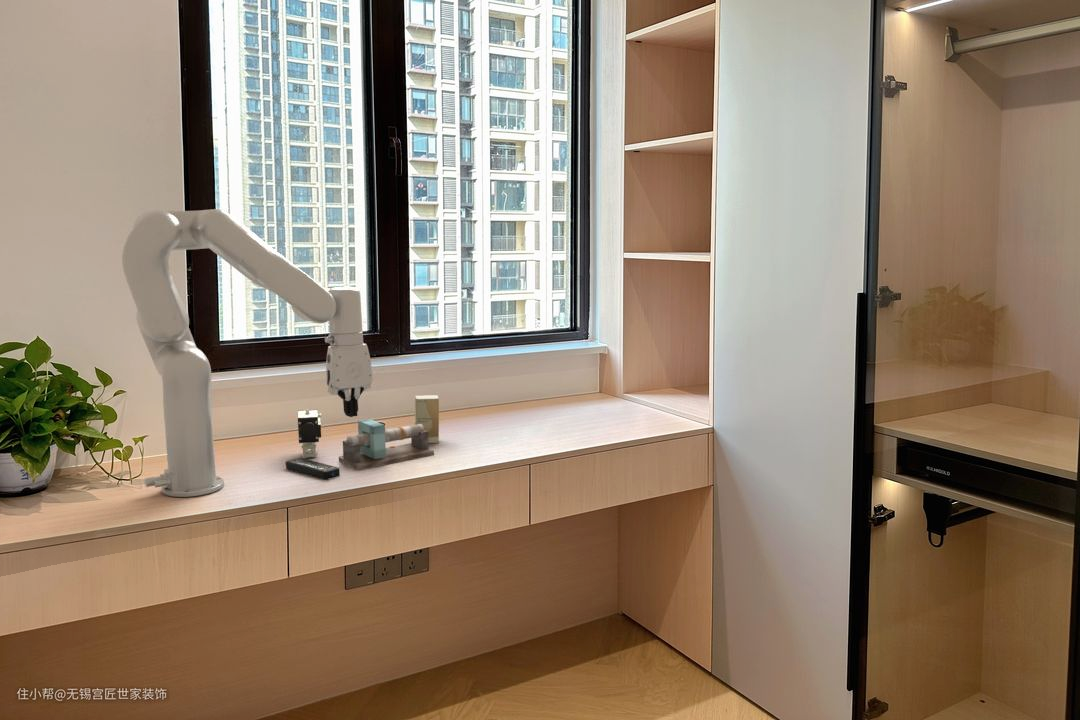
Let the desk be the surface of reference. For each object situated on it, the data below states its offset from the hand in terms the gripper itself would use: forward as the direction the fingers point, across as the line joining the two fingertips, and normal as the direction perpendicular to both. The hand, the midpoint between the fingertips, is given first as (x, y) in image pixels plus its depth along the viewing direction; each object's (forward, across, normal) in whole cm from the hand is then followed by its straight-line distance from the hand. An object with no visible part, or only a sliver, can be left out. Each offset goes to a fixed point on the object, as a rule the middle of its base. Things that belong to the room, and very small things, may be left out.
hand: (351, 415), depth 200 cm
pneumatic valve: (+12, -5, +13) cm, 19 cm away
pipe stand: (+12, +9, 0) cm, 15 cm away
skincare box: (+13, +25, +7) cm, 29 cm away
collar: (+11, +5, 0) cm, 12 cm away
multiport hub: (+12, -11, 0) cm, 16 cm away
